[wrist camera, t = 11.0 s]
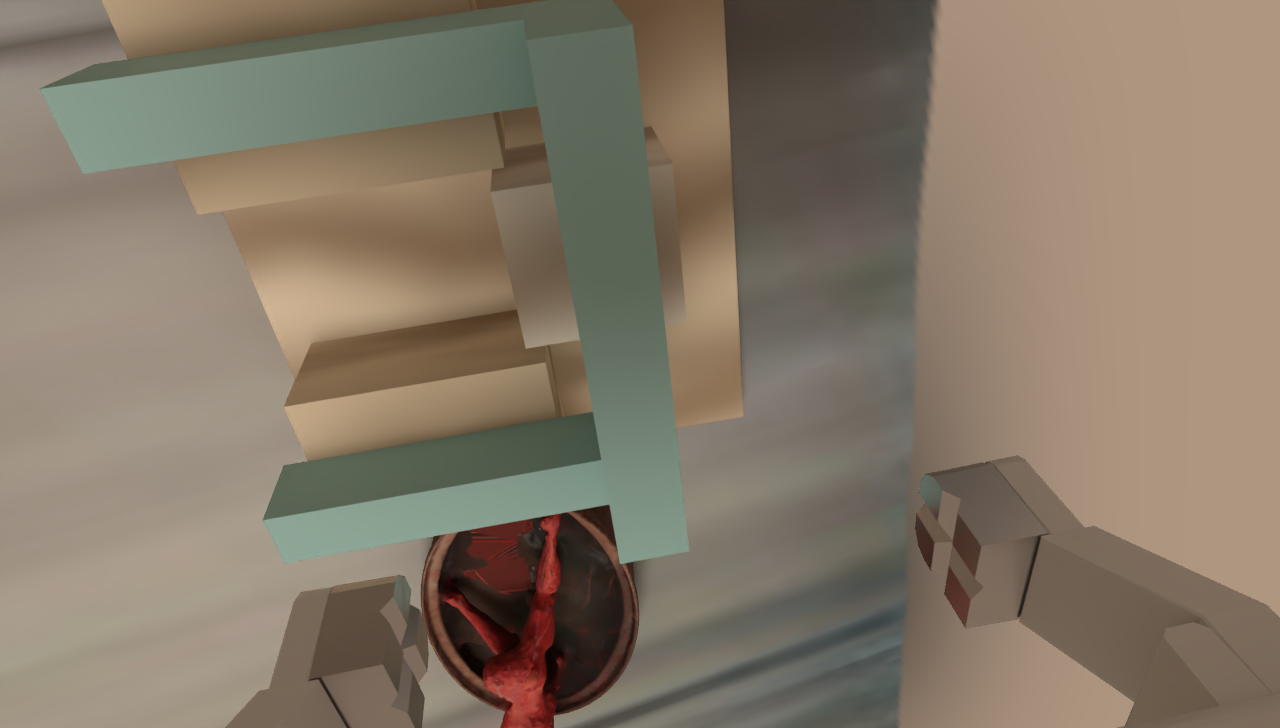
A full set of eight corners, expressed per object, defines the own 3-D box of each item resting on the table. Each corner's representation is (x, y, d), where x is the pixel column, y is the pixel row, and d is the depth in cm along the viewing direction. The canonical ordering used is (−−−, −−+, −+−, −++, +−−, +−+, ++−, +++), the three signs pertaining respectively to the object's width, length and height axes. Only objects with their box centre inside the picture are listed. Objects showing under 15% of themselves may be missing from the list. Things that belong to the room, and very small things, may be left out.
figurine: (689, 635, 40) (634, 859, 32) (524, 616, 43) (439, 815, 36) (614, 425, 31) (514, 666, 23) (414, 422, 35) (270, 632, 27)
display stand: (122, -72, 21) (24, -59, 16) (707, -149, 22) (754, -155, 17) (346, 467, 31) (320, 559, 27) (735, 399, 32) (770, 478, 28)
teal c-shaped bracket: (94, 64, 18) (-33, 120, 14) (605, -8, 19) (632, 24, 14) (303, 506, 25) (262, 630, 21) (660, 443, 26) (689, 551, 22)
